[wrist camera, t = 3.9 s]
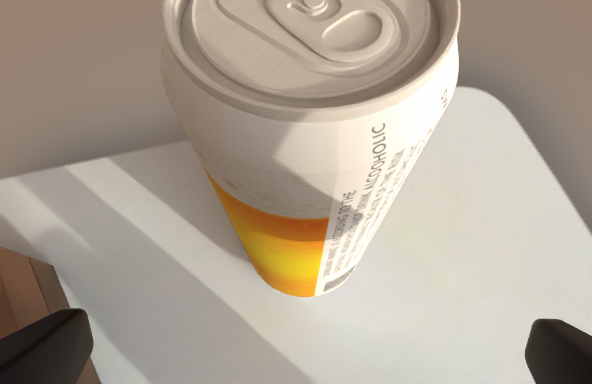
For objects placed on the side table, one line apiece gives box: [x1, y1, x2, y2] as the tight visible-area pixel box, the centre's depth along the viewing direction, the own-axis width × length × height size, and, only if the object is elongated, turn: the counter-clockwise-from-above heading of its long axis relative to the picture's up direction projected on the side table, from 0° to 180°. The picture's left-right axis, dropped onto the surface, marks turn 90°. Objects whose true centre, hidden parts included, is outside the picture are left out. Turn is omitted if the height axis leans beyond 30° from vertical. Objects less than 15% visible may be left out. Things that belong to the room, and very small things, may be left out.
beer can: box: [161, 0, 460, 297], centre depth 13 cm, size 6×6×15 cm
